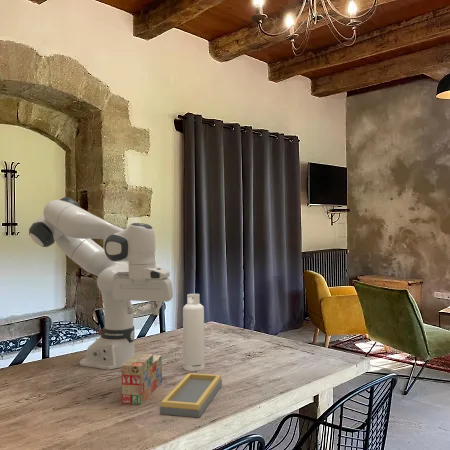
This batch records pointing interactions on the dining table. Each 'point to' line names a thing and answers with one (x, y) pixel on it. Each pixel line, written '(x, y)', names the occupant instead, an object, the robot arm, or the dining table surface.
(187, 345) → the bottle
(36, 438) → the dining table surface
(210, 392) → the yellow and grey tray
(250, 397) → the dining table surface
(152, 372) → the stack of blocks
